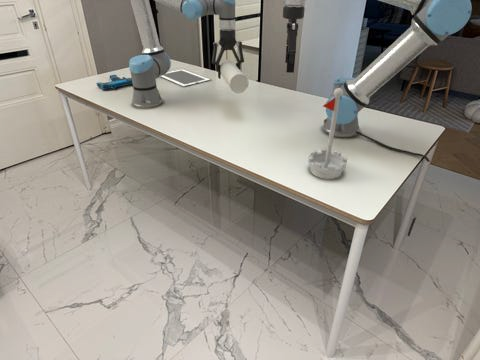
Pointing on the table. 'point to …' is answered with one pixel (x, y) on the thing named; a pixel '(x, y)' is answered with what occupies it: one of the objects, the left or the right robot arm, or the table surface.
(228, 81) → the white cylinder
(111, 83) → the submachine gun
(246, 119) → the table surface
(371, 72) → the right robot arm
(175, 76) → the tablet
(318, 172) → the flag stand
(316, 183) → the table surface
